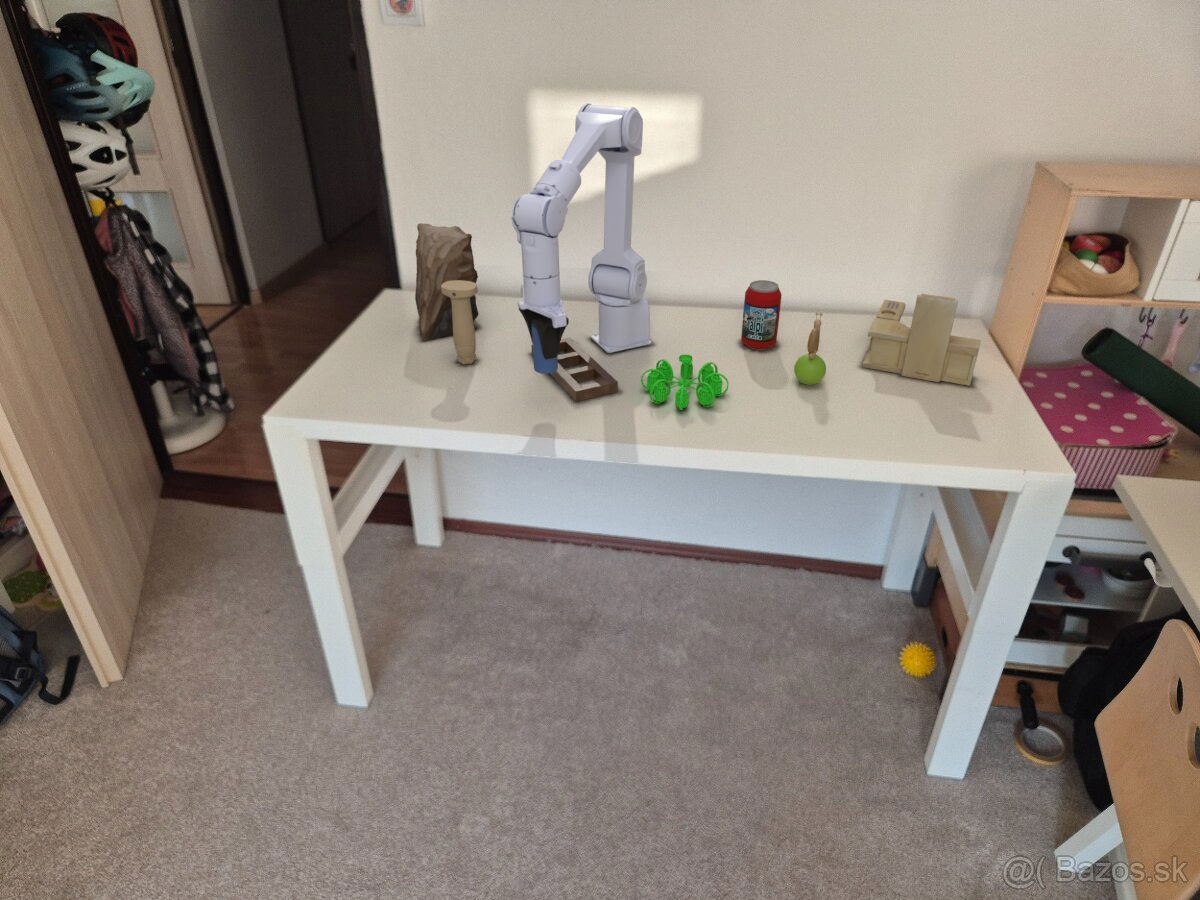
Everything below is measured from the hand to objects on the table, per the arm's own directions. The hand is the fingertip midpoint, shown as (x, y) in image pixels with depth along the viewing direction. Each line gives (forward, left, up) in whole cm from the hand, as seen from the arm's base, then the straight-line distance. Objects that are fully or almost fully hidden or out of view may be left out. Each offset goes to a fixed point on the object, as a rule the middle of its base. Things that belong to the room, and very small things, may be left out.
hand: (545, 352), depth 138 cm
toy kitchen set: (-69, +16, -10) cm, 71 cm away
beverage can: (-46, -3, -10) cm, 47 cm away
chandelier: (-23, +8, -10) cm, 26 cm away
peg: (0, 0, -3) cm, 3 cm away
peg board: (-9, -8, -10) cm, 15 cm away
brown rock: (+7, -39, -10) cm, 40 cm away
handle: (+7, -22, -10) cm, 25 cm away
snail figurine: (-45, +13, -10) cm, 47 cm away
